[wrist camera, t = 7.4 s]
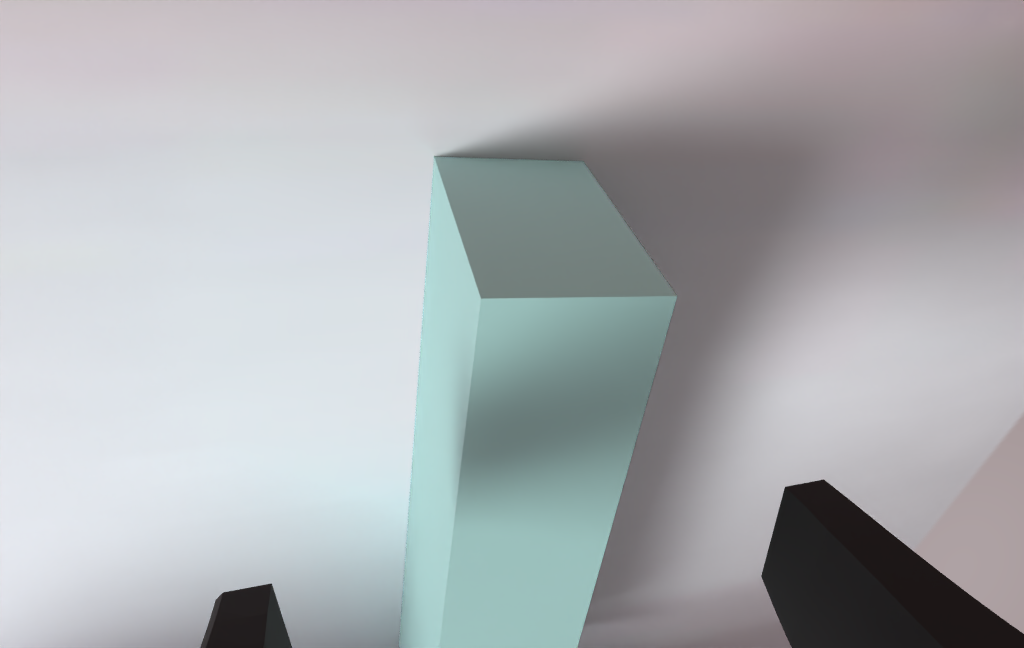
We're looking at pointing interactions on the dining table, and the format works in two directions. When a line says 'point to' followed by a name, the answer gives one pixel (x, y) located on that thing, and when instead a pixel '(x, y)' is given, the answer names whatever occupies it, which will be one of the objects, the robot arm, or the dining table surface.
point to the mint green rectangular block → (523, 401)
